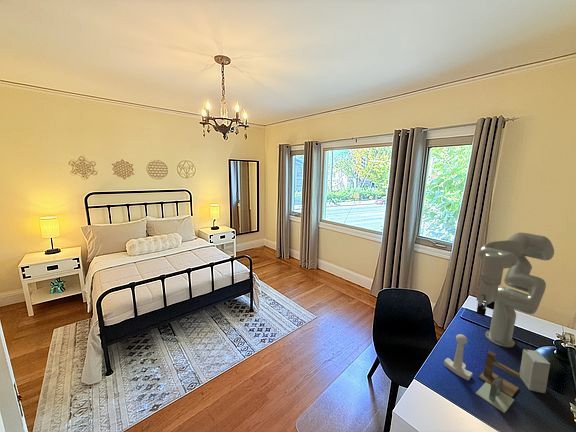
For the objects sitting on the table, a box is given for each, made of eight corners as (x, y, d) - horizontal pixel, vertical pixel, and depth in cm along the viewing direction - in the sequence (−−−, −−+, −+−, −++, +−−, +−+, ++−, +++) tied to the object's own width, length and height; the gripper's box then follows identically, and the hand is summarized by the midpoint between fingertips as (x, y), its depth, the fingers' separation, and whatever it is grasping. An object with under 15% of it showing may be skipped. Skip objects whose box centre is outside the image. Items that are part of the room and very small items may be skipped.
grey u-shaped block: (495, 390, 107) (498, 375, 105) (500, 393, 105) (503, 378, 103) (488, 398, 103) (491, 383, 101) (493, 401, 101) (496, 386, 100)
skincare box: (545, 394, 105) (552, 365, 102) (528, 390, 107) (534, 362, 104) (533, 377, 113) (539, 350, 110) (517, 374, 115) (522, 348, 112)
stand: (486, 370, 118) (490, 347, 115) (519, 389, 107) (524, 364, 105) (478, 377, 114) (482, 354, 111) (512, 398, 103) (517, 373, 101)
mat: (485, 383, 111) (485, 381, 111) (514, 400, 102) (514, 399, 102) (475, 393, 106) (475, 392, 106) (504, 413, 97) (504, 412, 97)
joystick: (442, 365, 121) (447, 330, 117) (450, 358, 125) (455, 324, 121) (467, 381, 112) (473, 344, 108) (475, 374, 115) (481, 338, 111)
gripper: (488, 271, 121) (483, 302, 125) (472, 280, 112) (467, 313, 116) (508, 277, 115) (502, 309, 118) (492, 287, 106) (486, 321, 110)
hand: (485, 311), depth 117 cm, fingers open, 9 cm apart
